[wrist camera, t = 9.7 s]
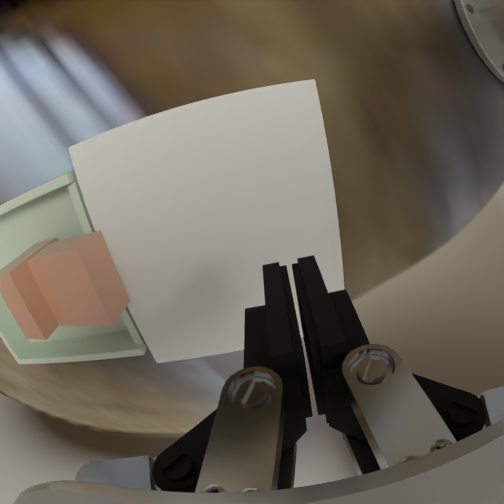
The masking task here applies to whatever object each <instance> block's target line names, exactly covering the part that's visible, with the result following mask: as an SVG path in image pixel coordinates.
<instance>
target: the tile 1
mask: <svg viewBox="0 0 504 504" xmlns="http://www.w3.org/2000/svg"><path fill="white" fill-rule="evenodd" d="M56 241H57V240H56V238H52V239H48V240H45V241H41V242H38V243H35V244H34V245H33V246H31V247H30V248H28V249H27V250H26V251H24V252H23V253H22V254H20V255H19V256H18V257H16V258H15V259H14V260H12V261H11V262H10V263H9V264H7V265H6V266H5V267H4V268H2V269H1V270H0V293H1V295H2V297H3V299H4V301H5V303H6V304H7V306H8V308H9V310H10V312H11V313H12V315H13V317H14V319H15V320H16V322H17V324H18V325H19V327H20V329H21V330H22V332H23V334H24V335H25V337H26V338H27V339H37V340H47V339H48V338H49V336H50V335H51V334H52V333H53V332H54V331H55V329H56V328H57V327H58V326H59V323H58V322H57V320H56V318H55V316H54V315H53V313H52V311H51V309H50V307H49V306H48V304H47V302H46V300H45V298H44V296H43V294H42V292H41V290H40V288H39V286H38V284H37V282H36V280H35V278H34V276H33V274H32V272H31V270H30V268H29V265H28V263H27V260H28V259H29V258H30V257H32V256H33V255H34V254H36V253H37V252H38V251H40V250H41V249H42V248H44V247H45V246H46V245H48V244H49V243H53V242H56Z"/></svg>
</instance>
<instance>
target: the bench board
mask: <svg viewBox="0 0 504 504" xmlns="http://www.w3.org/2000/svg"><path fill="white" fill-rule="evenodd" d="M68 149H69V153H70V156H71V160H72V163H73V167H74V170H75V173H76V177H77V180H78V183H79V186H80V189H81V192H82V195H83V198H84V201H85V204H86V207H87V210H88V213H89V216H90V218H91V221H92V224H93V227H94V229H95V231H101V233H102V236H103V238H104V241H105V244H106V246H107V249H108V251H109V254H110V256H111V259H112V261H113V263H114V266H115V268H116V270H117V273H118V275H119V277H120V280H121V282H122V284H123V287H124V289H125V291H126V293H127V295H128V298H129V300H130V302H129V304H128V305H127V307H128V309H129V311H130V313H131V315H132V317H133V319H134V321H135V323H136V325H137V327H138V329H139V331H140V333H141V335H142V337H143V338H144V340H145V342H146V344H147V346H148V348H149V350H150V352H151V353H152V355H153V357H154V359H155V361H156V362H157V363H163V362H171V361H178V360H185V359H192V358H199V357H205V356H211V355H217V354H223V353H229V352H235V351H240V350H244V323H245V309H246V308H251V307H256V306H262V305H265V296H264V282H263V268H262V265H265V264H270V263H276V262H279V265H280V266H284V265H286V266H287V271H288V276H289V281H290V285H291V290H292V295H293V300H294V305H295V310H296V315H297V320H298V325H299V330H300V335H301V338H302V337H303V332H302V326H301V320H300V313H299V307H298V301H297V295H296V288H295V282H294V276H293V270H292V264H294V263H298V262H297V258H302V257H307V256H312V255H314V257H315V259H316V262H317V264H318V267H319V270H320V272H321V275H322V277H323V280H324V283H325V285H326V288H327V291H328V293H330V292H335V291H339V290H344V276H343V264H342V253H341V242H340V232H339V223H338V215H337V206H336V199H335V191H334V184H333V177H332V170H331V164H330V157H329V151H328V145H327V139H326V134H325V128H324V123H323V117H322V112H321V107H320V102H319V97H318V92H317V88H316V83H315V79H313V80H305V81H297V82H290V83H284V84H277V85H271V86H266V87H260V88H255V89H250V90H245V91H240V92H235V93H231V94H226V95H222V96H218V97H214V98H210V99H206V100H202V101H198V102H194V103H191V104H187V105H183V106H180V107H176V108H173V109H170V110H166V111H163V112H160V113H157V114H154V115H151V116H148V117H145V118H142V119H139V120H136V121H133V122H130V123H128V124H125V125H122V126H119V127H117V128H114V129H111V130H109V131H106V132H104V133H101V134H99V135H96V136H94V137H92V138H89V139H87V140H84V141H82V142H80V143H78V144H75V145H73V146H71V147H69V148H68Z"/></svg>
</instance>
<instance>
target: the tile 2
mask: <svg viewBox="0 0 504 504" xmlns="http://www.w3.org/2000/svg"><path fill="white" fill-rule="evenodd" d="M27 263H28V265H29V268H30V270H31V272H32V274H33V276H34V278H35V280H36V282H37V284H38V286H39V288H40V290H41V292H42V294H43V296H44V298H45V300H46V302H47V304H48V306H49V307H50V309H51V311H52V313H53V315H54V316H55V318H56V320H57V322H58V323H59V325H60V326H103V325H114V323H115V322H116V320H117V319H118V318H119V316H120V315H121V313H122V312H123V311H124V309H125V308H126V306H127V305H128V304H129V302H130V300H129V298H128V295H127V293H126V291H125V289H124V287H123V284H122V282H121V280H120V277H119V275H118V273H117V270H116V268H115V266H114V263H113V261H112V259H111V256H110V254H109V251H108V249H107V246H106V244H105V241H104V238H103V236H102V233H101V231H95V232H91V233H87V234H83V235H79V236H75V237H72V238H68V239H64V240H60V241H56V242H53V243H49V244H48V245H46V246H45V247H44V248H42V249H41V250H40V251H38V252H37V253H36V254H34V255H33V256H32V257H30V258H29V259H28V260H27Z"/></svg>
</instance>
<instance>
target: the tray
mask: <svg viewBox="0 0 504 504" xmlns="http://www.w3.org/2000/svg"><path fill="white" fill-rule="evenodd" d="M91 232H95V229H94V227H93V224H92V221H91V218H90V216H89V213H88V210H87V207H86V204H85V201H84V198H83V195H82V192H81V189H80V186H79V183H78V180H77V177H76V173H75V170H74V171H71V172H69V173H66V174H64V175H62V176H60V177H57V178H55V179H53V180H51V181H48V182H46V183H44V184H42V185H40V186H38V187H36V188H34V189H31V190H29V191H27V192H25V193H23V194H21V195H19V196H17V197H15V198H13V199H12V200H10V201H8V202H6V203H4V204H2V205H0V270H1V269H2V268H4V267H5V266H6V265H7V264H9V263H10V262H11V261H12V260H14V259H15V258H16V257H18V256H19V255H20V254H22V253H23V252H24V251H26V250H27V249H28V248H30V247H31V246H33V245H34V244H35V243H38V242H41V241H45V240H48V239H52V238H56V240H57V241H60V240H64V239H68V238H72V237H75V236H79V235H83V234H87V233H91ZM0 337H1V338H2V340H3V342H4V343H5V345H6V346H7V348H8V349H9V351H10V352H11V354H12V355H13V357H14V358H15V359H16V361H17V362H18V364H42V363H62V362H77V361H90V360H102V359H112V358H122V357H131V356H139V355H145V352H146V348H147V344H146V342H145V340H144V338H143V337H142V335H141V333H140V331H139V329H138V327H137V325H136V323H135V321H134V319H133V317H132V315H131V313H130V311H129V309H128V307H127V306H126V308H125V309H124V311H123V312H122V313H121V315H120V316H119V318H118V319H117V320H116V322H115V323H114V325H103V326H60V325H59V326H58V327H57V328H56V329H55V331H54V332H53V333H52V334H51V335H50V336H49V338H48V339H47V340H37V339H27V338H26V337H25V335H24V334H23V332H22V330H21V329H20V327H19V325H18V324H17V322H16V320H15V319H14V317H13V315H12V313H11V312H10V310H9V308H8V306H7V304H6V303H5V301H4V299H3V297H2V295H1V293H0Z"/></svg>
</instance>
